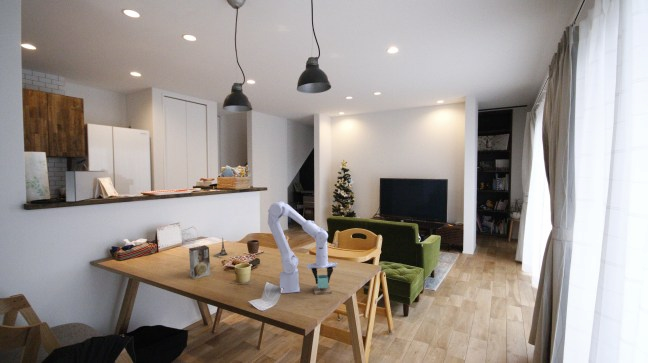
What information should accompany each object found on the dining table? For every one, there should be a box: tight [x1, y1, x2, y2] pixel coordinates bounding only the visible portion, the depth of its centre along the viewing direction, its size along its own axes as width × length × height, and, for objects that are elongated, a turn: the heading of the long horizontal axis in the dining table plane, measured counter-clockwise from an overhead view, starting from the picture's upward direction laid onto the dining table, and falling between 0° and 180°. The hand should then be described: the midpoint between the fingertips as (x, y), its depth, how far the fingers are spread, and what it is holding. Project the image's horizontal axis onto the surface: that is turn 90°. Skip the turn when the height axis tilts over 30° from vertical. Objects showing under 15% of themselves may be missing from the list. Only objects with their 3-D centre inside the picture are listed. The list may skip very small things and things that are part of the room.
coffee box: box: [188, 244, 211, 280], centre depth 163 cm, size 9×6×16 cm
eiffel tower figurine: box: [212, 237, 228, 259], centre depth 203 cm, size 15×10×13 cm
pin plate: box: [313, 284, 333, 296], centre depth 140 cm, size 8×8×4 cm
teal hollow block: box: [316, 273, 329, 288], centre depth 140 cm, size 5×5×4 cm
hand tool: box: [247, 257, 261, 266], centre depth 174 cm, size 19×4×5 cm, turn 154°
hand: (322, 282), depth 140 cm, fingers closed on teal hollow block, 5 cm apart
